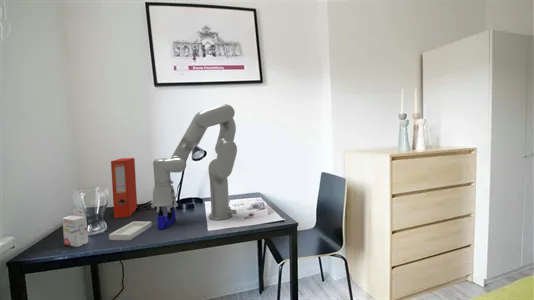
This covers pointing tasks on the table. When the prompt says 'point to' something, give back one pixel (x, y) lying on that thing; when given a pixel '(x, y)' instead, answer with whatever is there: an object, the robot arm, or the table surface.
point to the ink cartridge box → (75, 228)
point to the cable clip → (165, 220)
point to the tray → (130, 231)
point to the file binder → (124, 187)
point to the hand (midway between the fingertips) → (165, 219)
